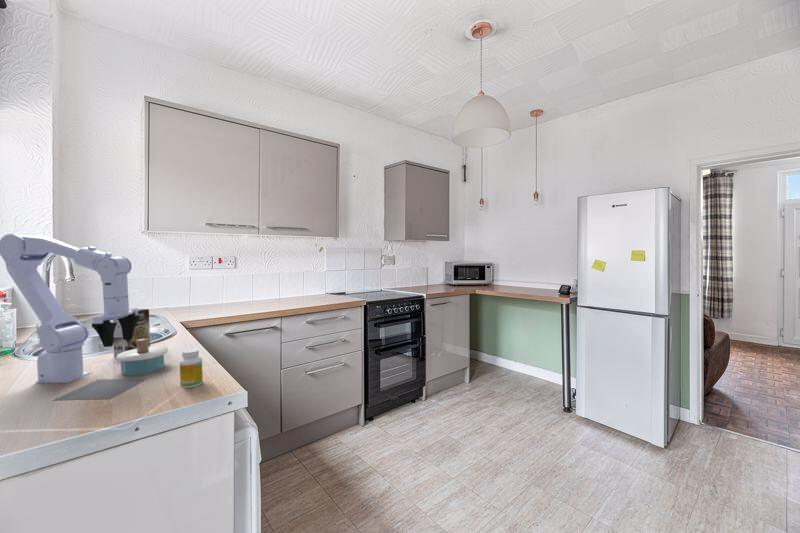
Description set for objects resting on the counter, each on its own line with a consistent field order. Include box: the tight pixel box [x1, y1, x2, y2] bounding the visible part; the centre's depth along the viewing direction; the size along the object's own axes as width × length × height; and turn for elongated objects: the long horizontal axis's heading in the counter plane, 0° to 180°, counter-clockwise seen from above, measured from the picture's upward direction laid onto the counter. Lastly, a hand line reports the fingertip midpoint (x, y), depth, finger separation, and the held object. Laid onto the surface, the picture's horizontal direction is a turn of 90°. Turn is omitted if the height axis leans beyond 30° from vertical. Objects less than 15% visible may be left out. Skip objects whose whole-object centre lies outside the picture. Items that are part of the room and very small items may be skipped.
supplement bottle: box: [179, 348, 204, 389], centre depth 98 cm, size 5×5×10 cm
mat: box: [53, 378, 148, 401], centre depth 94 cm, size 14×14×1 cm
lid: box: [115, 338, 169, 362], centre depth 110 cm, size 13×13×5 cm
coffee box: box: [112, 308, 151, 358], centre depth 127 cm, size 9×6×16 cm
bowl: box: [120, 354, 165, 376], centre depth 110 cm, size 11×11×5 cm
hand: (118, 342), depth 103 cm, fingers open, 7 cm apart
